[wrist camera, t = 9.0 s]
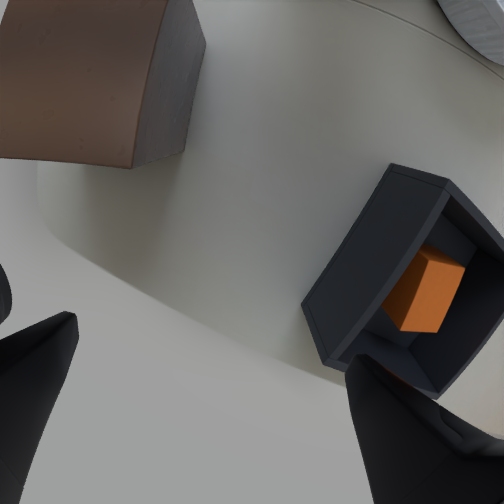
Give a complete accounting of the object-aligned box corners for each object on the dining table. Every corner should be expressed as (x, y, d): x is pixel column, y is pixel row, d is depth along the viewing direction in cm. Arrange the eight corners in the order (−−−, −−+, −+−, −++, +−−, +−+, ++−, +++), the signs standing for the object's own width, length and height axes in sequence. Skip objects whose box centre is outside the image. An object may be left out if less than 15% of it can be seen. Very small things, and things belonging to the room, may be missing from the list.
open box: (404, 350, 25) (436, 400, 18) (300, 304, 22) (322, 365, 16) (479, 242, 21) (531, 274, 15) (390, 162, 19) (449, 178, 12)
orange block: (412, 305, 22) (437, 333, 18) (376, 301, 22) (399, 331, 18) (435, 246, 20) (466, 268, 17) (399, 237, 20) (429, 260, 16)
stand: (184, 151, 18) (132, 169, 9) (81, 140, 17) (-25, 157, 8) (206, 42, 15) (181, -37, 6) (101, 38, 15) (13, -13, 5)
